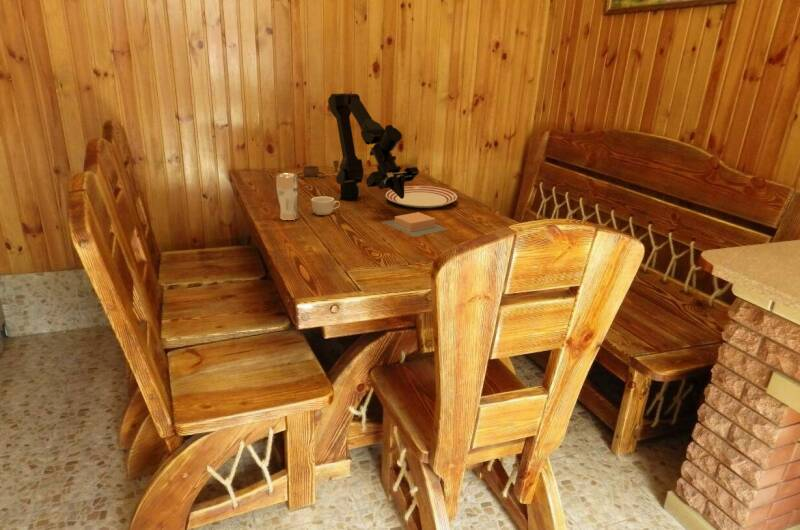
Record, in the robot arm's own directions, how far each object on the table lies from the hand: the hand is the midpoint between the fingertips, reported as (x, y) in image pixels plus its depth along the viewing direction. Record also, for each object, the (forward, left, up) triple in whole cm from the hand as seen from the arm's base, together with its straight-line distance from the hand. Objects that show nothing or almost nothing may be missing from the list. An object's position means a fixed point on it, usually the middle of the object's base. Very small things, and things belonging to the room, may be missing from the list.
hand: (402, 198), depth 180 cm
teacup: (-27, +4, -8) cm, 29 cm away
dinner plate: (+5, +26, -9) cm, 28 cm away
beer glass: (-38, -4, -8) cm, 39 cm away
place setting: (-44, +62, -9) cm, 77 cm away
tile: (+2, -2, -6) cm, 7 cm away
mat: (+5, -5, -8) cm, 11 cm away
